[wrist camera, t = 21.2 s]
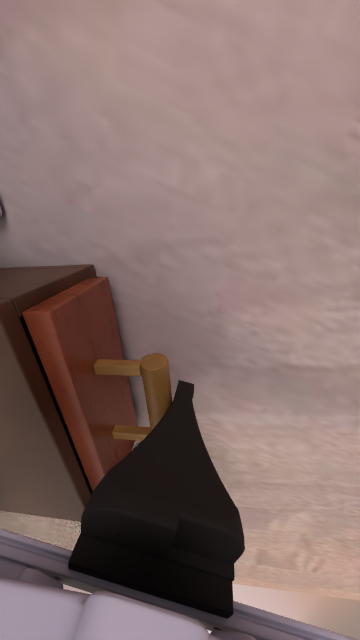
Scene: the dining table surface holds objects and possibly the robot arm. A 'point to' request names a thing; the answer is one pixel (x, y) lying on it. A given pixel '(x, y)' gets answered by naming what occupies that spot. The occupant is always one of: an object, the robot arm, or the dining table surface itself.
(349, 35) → the dining table surface
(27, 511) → the cabinet
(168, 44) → the dining table surface
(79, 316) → the drawer
